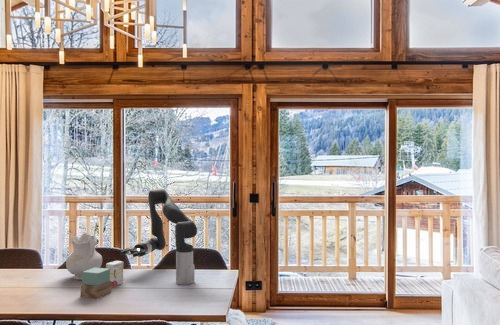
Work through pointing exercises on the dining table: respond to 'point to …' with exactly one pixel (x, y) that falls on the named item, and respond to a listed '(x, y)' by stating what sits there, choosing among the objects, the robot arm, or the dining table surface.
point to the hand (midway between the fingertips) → (126, 254)
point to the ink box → (115, 272)
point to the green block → (96, 276)
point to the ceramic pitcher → (83, 255)
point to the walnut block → (95, 290)
